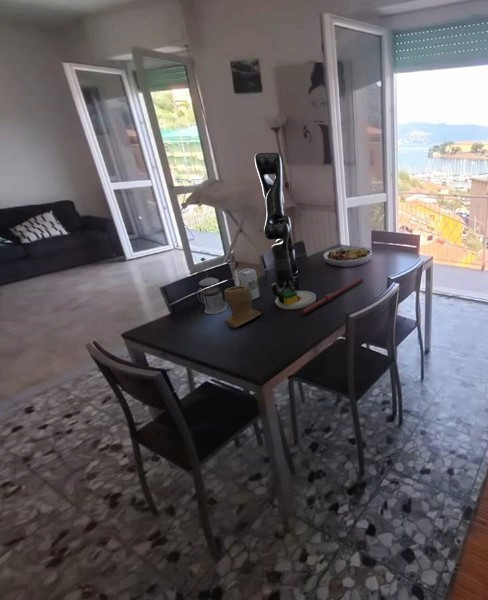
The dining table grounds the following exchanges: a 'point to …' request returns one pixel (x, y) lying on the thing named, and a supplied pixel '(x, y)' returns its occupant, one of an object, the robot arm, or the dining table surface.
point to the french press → (218, 299)
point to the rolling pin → (330, 296)
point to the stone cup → (239, 306)
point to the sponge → (289, 297)
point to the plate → (299, 300)
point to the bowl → (347, 256)
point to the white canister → (250, 282)
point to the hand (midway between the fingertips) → (288, 300)
